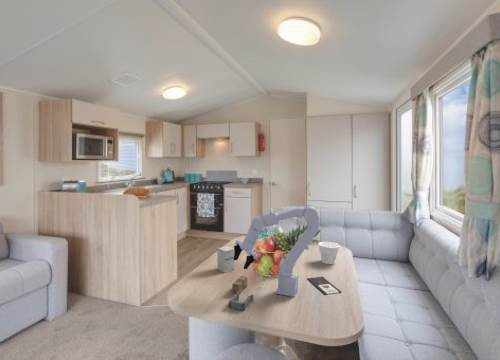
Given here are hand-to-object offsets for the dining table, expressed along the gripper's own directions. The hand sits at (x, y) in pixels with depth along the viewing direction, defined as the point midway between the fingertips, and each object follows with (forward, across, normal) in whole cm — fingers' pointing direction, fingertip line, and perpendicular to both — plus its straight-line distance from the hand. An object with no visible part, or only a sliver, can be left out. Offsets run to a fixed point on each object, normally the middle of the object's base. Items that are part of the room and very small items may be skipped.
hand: (240, 264), depth 141 cm
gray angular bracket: (+10, +15, -8) cm, 20 cm away
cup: (-7, +15, +64) cm, 66 cm away
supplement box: (+16, -18, +14) cm, 28 cm away
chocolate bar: (-4, +30, +32) cm, 44 cm away
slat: (+11, +5, +2) cm, 13 cm away
